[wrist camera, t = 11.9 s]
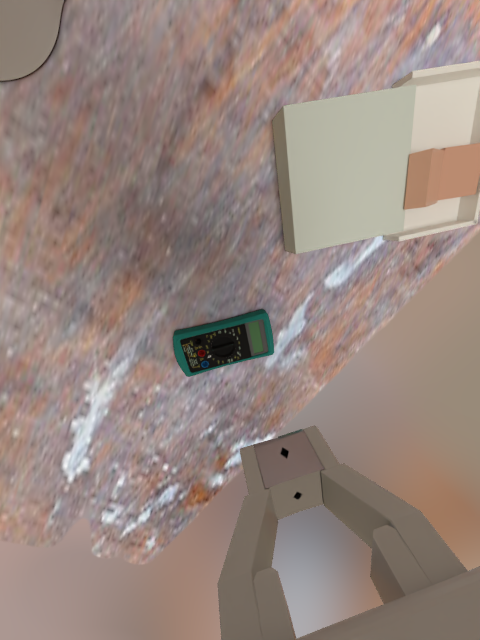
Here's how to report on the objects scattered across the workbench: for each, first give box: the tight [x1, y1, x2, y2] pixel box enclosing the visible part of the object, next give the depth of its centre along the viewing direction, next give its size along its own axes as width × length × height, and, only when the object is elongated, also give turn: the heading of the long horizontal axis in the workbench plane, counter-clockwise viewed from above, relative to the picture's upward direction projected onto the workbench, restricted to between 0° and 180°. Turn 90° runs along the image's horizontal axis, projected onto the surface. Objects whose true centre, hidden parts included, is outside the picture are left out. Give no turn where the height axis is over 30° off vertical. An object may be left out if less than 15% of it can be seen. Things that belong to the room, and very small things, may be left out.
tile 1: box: [438, 143, 480, 200], centre depth 33 cm, size 6×6×2 cm
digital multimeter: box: [173, 309, 274, 377], centre depth 37 cm, size 7×15×3 cm, turn 101°
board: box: [272, 85, 416, 254], centre depth 30 cm, size 15×15×4 cm
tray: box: [383, 61, 480, 241], centre depth 32 cm, size 18×12×3 cm
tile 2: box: [404, 148, 445, 210], centre depth 30 cm, size 6×6×2 cm
